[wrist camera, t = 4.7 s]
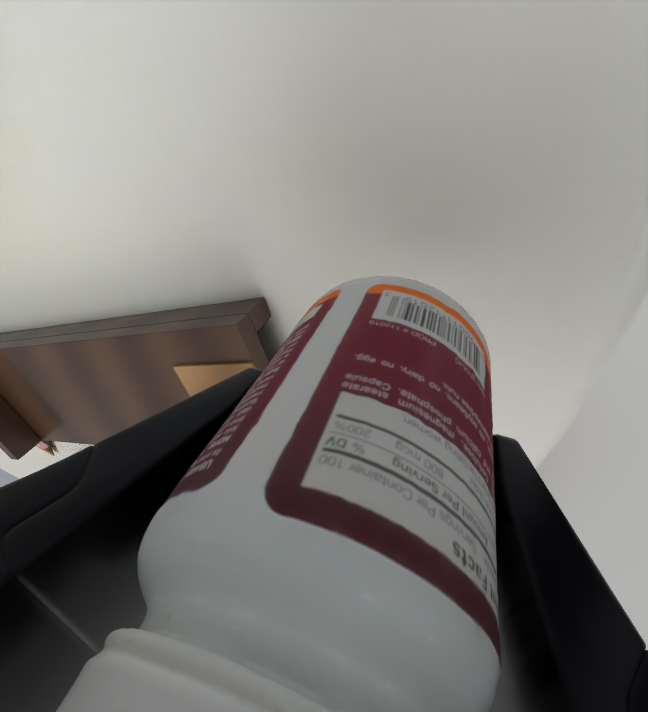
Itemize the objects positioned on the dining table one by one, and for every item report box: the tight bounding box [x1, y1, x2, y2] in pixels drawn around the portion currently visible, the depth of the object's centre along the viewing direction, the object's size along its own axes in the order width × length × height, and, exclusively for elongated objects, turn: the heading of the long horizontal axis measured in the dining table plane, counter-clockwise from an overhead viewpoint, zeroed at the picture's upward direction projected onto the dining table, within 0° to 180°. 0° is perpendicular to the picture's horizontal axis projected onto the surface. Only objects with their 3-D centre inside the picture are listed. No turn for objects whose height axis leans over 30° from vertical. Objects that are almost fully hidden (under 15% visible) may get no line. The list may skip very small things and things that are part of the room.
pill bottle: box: [56, 276, 501, 712], centre depth 6 cm, size 5×5×8 cm
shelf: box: [0, 298, 271, 460], centre depth 27 cm, size 29×10×5 cm, turn 107°
